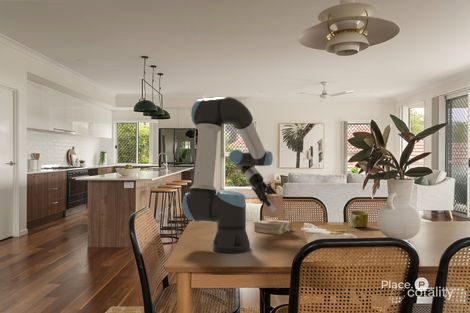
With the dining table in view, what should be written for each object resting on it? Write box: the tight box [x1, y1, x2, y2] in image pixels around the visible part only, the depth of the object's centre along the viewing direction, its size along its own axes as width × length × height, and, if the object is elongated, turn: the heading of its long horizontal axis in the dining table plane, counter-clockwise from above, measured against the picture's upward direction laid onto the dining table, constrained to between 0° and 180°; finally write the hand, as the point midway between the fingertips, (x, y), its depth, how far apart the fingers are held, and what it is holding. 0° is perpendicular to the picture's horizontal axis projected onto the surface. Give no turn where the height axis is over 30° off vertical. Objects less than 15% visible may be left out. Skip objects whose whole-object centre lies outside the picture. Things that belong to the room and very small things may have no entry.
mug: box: [349, 210, 369, 228], centre depth 192 cm, size 12×10×10 cm
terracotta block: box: [263, 193, 284, 218], centre depth 183 cm, size 7×7×11 cm
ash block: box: [254, 218, 293, 235], centre depth 182 cm, size 14×14×5 cm
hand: (278, 209), depth 180 cm, fingers closed on terracotta block, 7 cm apart
